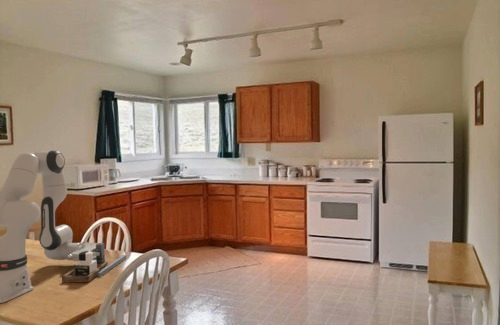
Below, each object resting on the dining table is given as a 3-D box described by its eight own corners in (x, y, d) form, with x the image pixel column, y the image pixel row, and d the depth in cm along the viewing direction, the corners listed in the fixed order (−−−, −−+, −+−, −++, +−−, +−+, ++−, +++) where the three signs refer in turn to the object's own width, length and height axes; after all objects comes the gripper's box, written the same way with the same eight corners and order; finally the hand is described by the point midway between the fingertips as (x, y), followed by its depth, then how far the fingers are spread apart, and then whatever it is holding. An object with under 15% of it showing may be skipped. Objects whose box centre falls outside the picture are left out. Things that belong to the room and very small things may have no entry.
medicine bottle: (75, 279, 182) (74, 254, 181) (83, 274, 189) (82, 249, 188) (89, 279, 181) (88, 254, 180) (97, 274, 188) (96, 250, 187)
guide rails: (100, 276, 185) (100, 272, 184) (68, 276, 186) (68, 271, 186) (126, 258, 213) (126, 254, 213) (98, 257, 215) (98, 254, 215)
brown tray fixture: (87, 282, 177) (86, 258, 176) (61, 281, 178) (61, 257, 177) (113, 264, 202) (112, 243, 202) (90, 263, 204) (90, 242, 203)
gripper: (64, 251, 192) (91, 252, 190) (86, 240, 212) (110, 241, 211) (65, 264, 192) (91, 264, 191) (86, 252, 212) (111, 252, 211)
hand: (101, 252), depth 201 cm, fingers open, 3 cm apart
